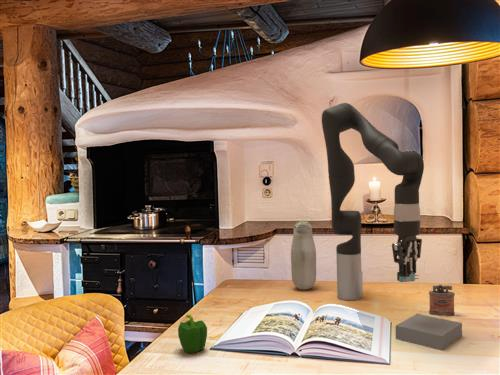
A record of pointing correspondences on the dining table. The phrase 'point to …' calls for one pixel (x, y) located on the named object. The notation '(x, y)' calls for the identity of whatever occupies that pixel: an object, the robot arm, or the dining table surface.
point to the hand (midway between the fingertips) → (407, 274)
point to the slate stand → (429, 331)
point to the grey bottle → (303, 256)
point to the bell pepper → (192, 335)
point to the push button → (408, 269)
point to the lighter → (442, 301)
